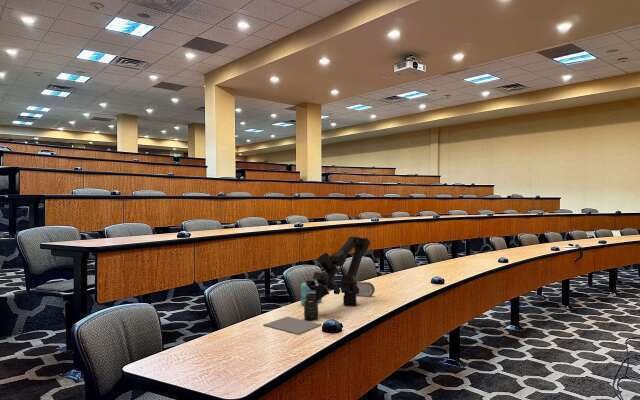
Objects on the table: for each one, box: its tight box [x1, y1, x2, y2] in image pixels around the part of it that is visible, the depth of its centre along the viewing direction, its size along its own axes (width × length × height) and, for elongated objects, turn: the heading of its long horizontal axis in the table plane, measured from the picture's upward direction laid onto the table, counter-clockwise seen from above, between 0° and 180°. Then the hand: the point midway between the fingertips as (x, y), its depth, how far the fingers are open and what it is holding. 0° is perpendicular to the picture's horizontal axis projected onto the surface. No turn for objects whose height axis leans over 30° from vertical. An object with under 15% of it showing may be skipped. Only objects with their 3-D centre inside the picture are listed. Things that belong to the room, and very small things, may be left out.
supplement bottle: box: [303, 293, 319, 322], centre depth 202 cm, size 7×7×12 cm
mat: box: [263, 316, 323, 336], centre depth 192 cm, size 16×22×1 cm
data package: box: [300, 280, 323, 306], centre depth 231 cm, size 12×4×12 cm, turn 137°
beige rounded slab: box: [356, 281, 376, 298], centre depth 247 cm, size 15×3×8 cm, turn 71°
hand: (315, 301), depth 205 cm, fingers closed
